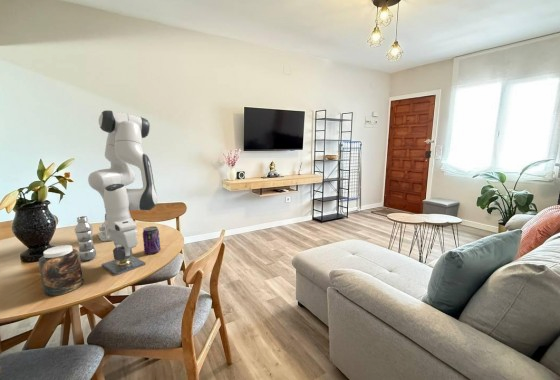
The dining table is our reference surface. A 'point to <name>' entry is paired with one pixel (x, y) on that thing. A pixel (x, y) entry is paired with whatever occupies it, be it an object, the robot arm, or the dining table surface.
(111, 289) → the dining table surface
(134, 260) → the post stand
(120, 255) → the octagonal nut
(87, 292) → the dining table surface
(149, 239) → the beverage can
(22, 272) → the dining table surface
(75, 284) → the jar
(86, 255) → the plastic bottle
